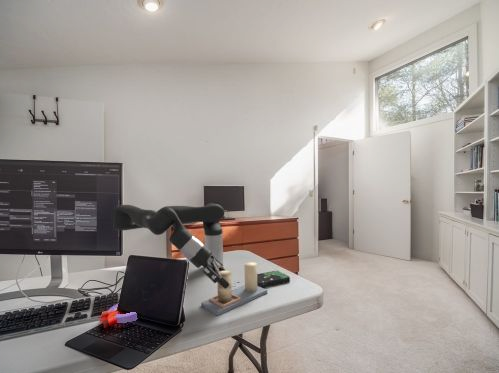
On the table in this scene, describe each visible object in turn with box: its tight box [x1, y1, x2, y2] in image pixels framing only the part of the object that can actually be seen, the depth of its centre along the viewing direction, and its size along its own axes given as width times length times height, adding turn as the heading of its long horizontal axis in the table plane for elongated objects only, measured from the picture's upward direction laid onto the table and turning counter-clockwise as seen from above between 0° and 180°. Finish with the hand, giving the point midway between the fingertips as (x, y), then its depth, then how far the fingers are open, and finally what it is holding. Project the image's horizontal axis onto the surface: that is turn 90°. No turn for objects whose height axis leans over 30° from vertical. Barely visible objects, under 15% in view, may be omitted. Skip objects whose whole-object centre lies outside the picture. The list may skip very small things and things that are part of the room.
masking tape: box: [107, 303, 138, 323], centre depth 84 cm, size 12×12×4 cm
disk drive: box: [257, 270, 291, 289], centre depth 113 cm, size 10×3×15 cm
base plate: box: [200, 262, 268, 316], centre depth 96 cm, size 10×24×11 cm, turn 133°
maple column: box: [217, 270, 233, 303], centre depth 93 cm, size 5×5×10 cm
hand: (228, 281), depth 93 cm, fingers open, 8 cm apart
